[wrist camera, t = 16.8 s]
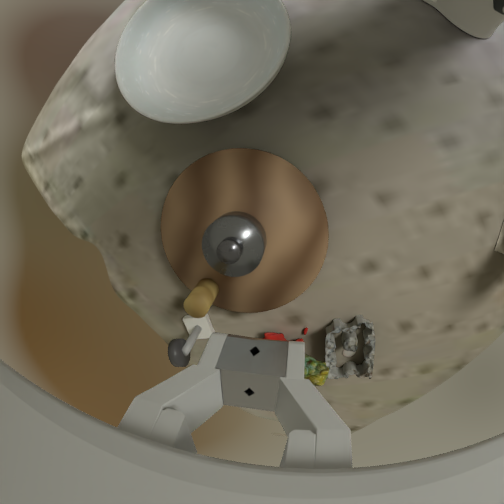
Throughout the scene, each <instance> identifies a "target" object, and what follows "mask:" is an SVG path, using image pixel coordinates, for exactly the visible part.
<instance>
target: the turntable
mask: <svg viewBox="0 0 504 504" xmlns="http://www.w3.org/2000/svg"><path fill="white" fill-rule="evenodd" d="M232 211H240V212H245V213H248V214H250V215H252V216H253V217H255V218H256V219H257V220H258V221H259V222H260V223H261V225H262V226H263V228H264V230H265V233H266V238H267V244H266V249H265V252H264V254H263V257H262V260H261V262H260V264H259V265H258V267H257V268H256V269H255V270H254V271H252V272H251V273H249V274H247V275H244V276H240V277H230V276H225V275H223V274H220V273H219V272H217V271H215V270H214V269H213V268H212V267H211V266H210V265H209V264H208V263H207V261H206V259H205V257H204V255H203V251H202V238H203V235H204V232H205V230H206V229H207V227H208V226H209V225H210V224H211V223H213V222H214V221H215V220H216V219H218V218H219V217H220V216H221V215H223V214H225V213H228V212H232ZM161 236H162V242H163V247H164V250H165V253H166V256H167V259H168V261H169V263H170V265H171V267H172V268H173V270H174V272H175V273H176V275H177V276H178V277H179V279H180V280H181V281H182V282H183V283H184V284H185V285H186V286H187V287H188V288H189V289H190V290H191V291H192V292H191V293H190V294H189V296H188V297H187V298H186V300H185V301H184V309H185V311H186V312H187V313H188V314H189V315H190V316H192V317H194V318H202V317H204V316H205V315H206V314H207V312H208V310H209V309H210V307H211V305H212V304H213V305H215V306H217V307H220V308H223V309H226V310H230V311H235V312H245V313H253V312H263V311H268V310H272V309H275V308H278V307H280V306H283V305H285V304H287V303H289V302H291V301H292V300H294V299H295V298H297V297H298V296H299V295H301V294H302V293H303V292H304V291H305V290H306V289H307V288H308V287H309V286H310V285H311V284H312V282H313V281H314V280H315V278H316V277H317V275H318V273H319V271H320V270H321V268H322V265H323V262H324V260H325V257H326V253H327V248H328V238H329V233H328V222H327V217H326V212H325V210H324V207H323V204H322V201H321V199H320V197H319V195H318V193H317V191H316V190H315V188H314V187H313V185H312V184H311V182H310V181H309V180H308V179H307V178H306V177H305V175H304V174H303V173H302V172H301V171H300V170H298V169H297V168H296V167H295V166H293V165H292V164H291V163H289V162H287V161H286V160H284V159H282V158H281V157H278V156H276V155H274V154H271V153H268V152H265V151H261V150H256V149H247V148H232V149H226V150H220V151H217V152H214V153H211V154H208V155H206V156H204V157H202V158H200V159H198V160H197V161H195V162H194V163H192V164H191V165H190V166H189V167H188V168H186V169H185V170H184V171H183V172H182V173H181V174H180V176H179V177H178V178H177V179H176V180H175V182H174V183H173V185H172V187H171V188H170V190H169V192H168V195H167V197H166V199H165V202H164V206H163V210H162V216H161Z"/></svg>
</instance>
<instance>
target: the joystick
mask: <svg viewBox="0 0 504 504" xmlns="http://www.w3.org/2000/svg"><path fill="white" fill-rule="evenodd" d="M183 322H184V324H185V326H186V328H187V331H188V333H189V337H188V339H187V340H184V339H173V340H171V341H170V343H169V346H168V356H169V360H170V362H171V363H172V365H173V366H175V367H185V366H187V365H188V363H189V361H190V350H191V349H192V347H193V345H194V343H195V341H196V339H204V338H210V336H211V334H212V333H213V332H215V331H214V329H213V326H212V324H211V321H210V319H209V316H208V314H206V315H205V316H204V317H202V318H194V317H192V316H190V315H186V316H184V317H183Z"/></svg>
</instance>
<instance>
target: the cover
mask: <svg viewBox="0 0 504 504" xmlns="http://www.w3.org/2000/svg"><path fill="white" fill-rule="evenodd" d="M266 244H267V238H266V233H265V230H264V228H263V226H262V225H261V223H260V222H259V221H258V220H257V219H256V218H255V217H253V216H252V215H250V214H248V213H245V212H240V211H232V212H228V213H225V214H223V215H221V216H220V217H219V218H218V219H216V220H215V221H214V222H213V223H211V224H210V225H209V226H208V227H207V229H206V230H205V232H204V235H203V238H202V251H203V255H204V257H205V259H206V261H207V263H208V264H209V265H210V266H211V267H212V268H213V269H214V270H215V271H217V272H219V273H220V274H223V275H225V276H230V277H240V276H244V275H247V274H249V273H251V272H252V271H254V270H255V269H256V268H257V267H258V265H259V264H260V262H261V260H262V257H263V254H264V252H265V249H266Z"/></svg>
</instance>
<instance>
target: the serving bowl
mask: <svg viewBox="0 0 504 504" xmlns="http://www.w3.org/2000/svg"><path fill="white" fill-rule="evenodd" d="M290 41H291V24H290V19H289V15H288V12H287V10H286V8H285V6H284V4H283V3H282V1H281V0H147V1H146V2H144V3H143V4H142V5H141V6H140V8H139V9H138V10H137V11H136V12H135V13H134V14H133V16H132V17H131V19H130V20H129V21H128V23H127V25H126V26H125V28H124V30H123V32H122V34H121V37H120V39H119V42H118V45H117V49H116V54H115V76H116V81H117V84H118V87H119V90H120V92H121V94H122V96H123V97H124V99H125V100H126V101H127V103H128V104H129V105H130V106H131V107H132V108H133V109H134V110H136V111H137V112H138V113H140V114H142V115H143V116H145V117H147V118H150V119H152V120H155V121H159V122H164V123H171V124H188V123H198V122H204V121H208V120H213V119H216V118H219V117H222V116H225V115H227V114H230V113H232V112H234V111H236V110H238V109H240V108H241V107H243V106H245V105H246V104H248V103H249V102H251V101H252V100H253V99H255V98H256V97H257V96H258V95H260V94H261V93H262V92H263V91H264V90H265V89H266V88H267V87H268V86H269V84H270V83H271V82H272V81H273V80H274V78H275V77H276V75H277V74H278V72H279V71H280V69H281V67H282V65H283V63H284V61H285V58H286V56H287V53H288V49H289V45H290Z"/></svg>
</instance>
